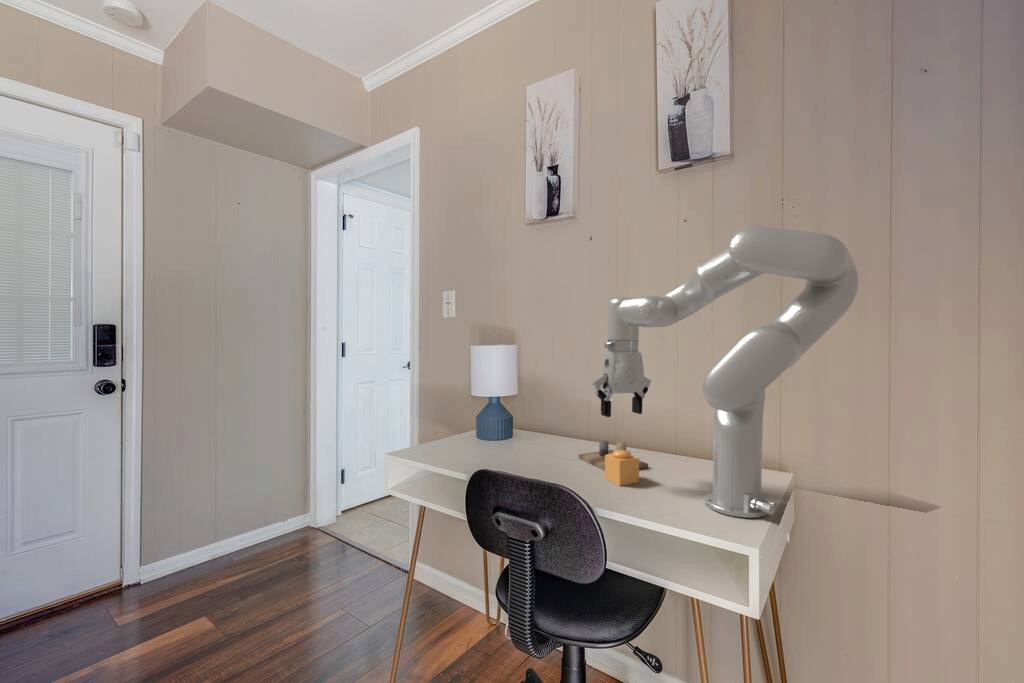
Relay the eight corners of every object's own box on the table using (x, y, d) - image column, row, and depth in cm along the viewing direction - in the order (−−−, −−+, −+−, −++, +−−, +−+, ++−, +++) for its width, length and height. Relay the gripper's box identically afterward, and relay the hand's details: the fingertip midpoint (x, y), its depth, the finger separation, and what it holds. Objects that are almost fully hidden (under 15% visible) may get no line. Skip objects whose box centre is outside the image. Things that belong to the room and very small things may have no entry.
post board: (648, 468, 128) (648, 443, 128) (612, 474, 123) (612, 449, 123) (612, 453, 143) (612, 431, 142) (579, 458, 137) (579, 435, 137)
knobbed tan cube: (638, 482, 117) (639, 454, 116) (619, 486, 114) (619, 457, 114) (623, 475, 122) (623, 448, 122) (604, 478, 119) (604, 450, 119)
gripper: (603, 348, 110) (602, 420, 111) (660, 347, 117) (658, 414, 118) (585, 346, 117) (584, 414, 118) (640, 345, 124) (639, 409, 125)
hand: (621, 414), depth 118 cm, fingers open, 9 cm apart
